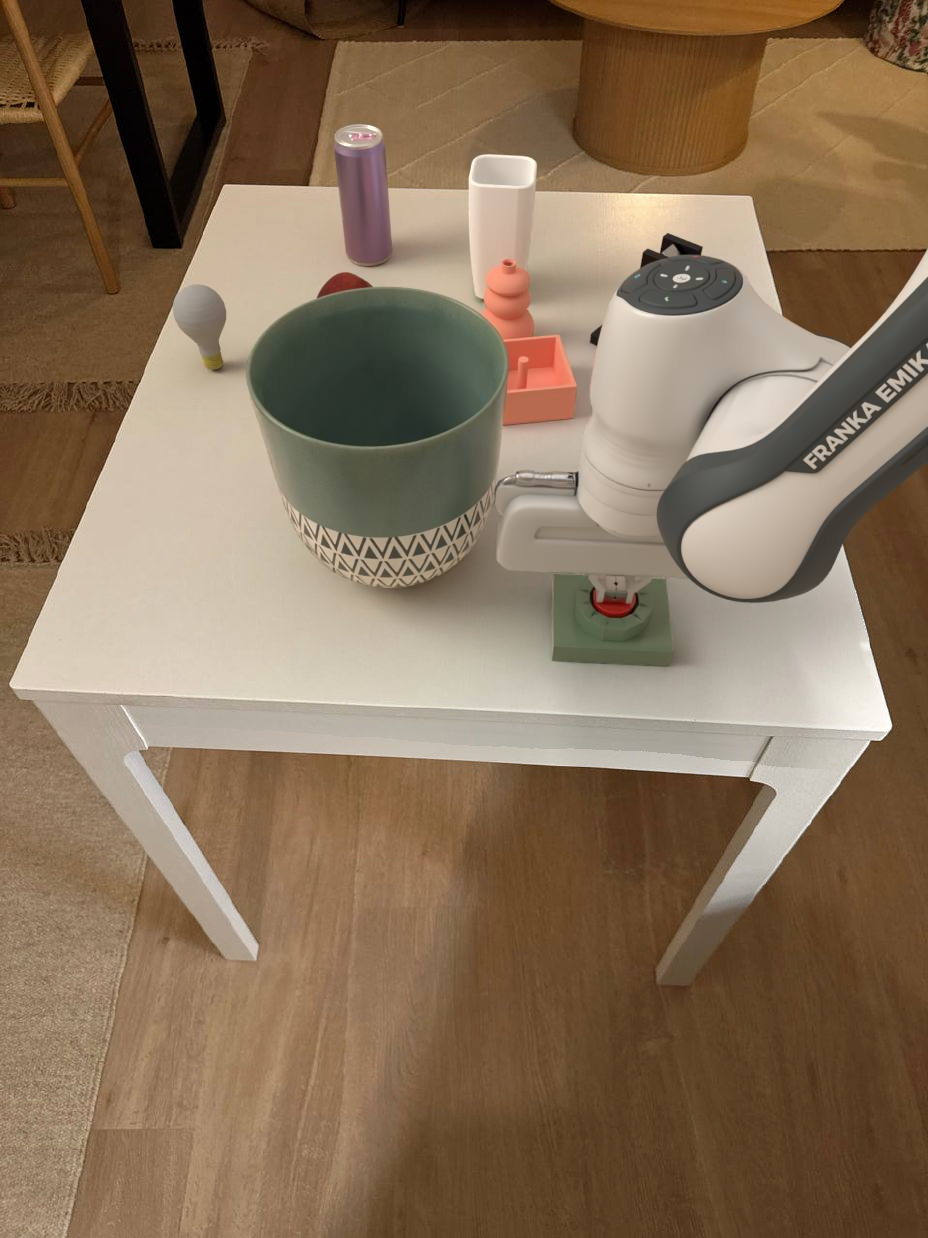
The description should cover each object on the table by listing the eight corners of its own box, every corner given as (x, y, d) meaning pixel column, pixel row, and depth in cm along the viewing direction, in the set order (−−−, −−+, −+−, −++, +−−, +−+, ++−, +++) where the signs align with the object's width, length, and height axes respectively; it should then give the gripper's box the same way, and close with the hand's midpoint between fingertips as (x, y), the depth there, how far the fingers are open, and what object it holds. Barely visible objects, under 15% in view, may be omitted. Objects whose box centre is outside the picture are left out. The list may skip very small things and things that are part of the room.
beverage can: (390, 268, 114) (382, 147, 102) (344, 267, 114) (330, 146, 102) (394, 243, 117) (386, 123, 106) (348, 242, 118) (335, 122, 106)
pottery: (573, 418, 96) (582, 339, 88) (486, 426, 95) (488, 348, 88) (540, 320, 107) (546, 242, 99) (462, 327, 106) (461, 249, 98)
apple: (394, 347, 104) (389, 285, 97) (331, 365, 102) (322, 303, 95) (370, 313, 108) (364, 251, 102) (309, 330, 106) (299, 268, 100)
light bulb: (186, 359, 102) (163, 279, 95) (233, 348, 104) (214, 269, 96) (195, 387, 99) (171, 308, 91) (243, 376, 101) (224, 297, 93)
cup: (530, 276, 113) (537, 155, 101) (526, 309, 108) (534, 188, 97) (472, 272, 113) (473, 152, 101) (466, 306, 109) (467, 184, 97)
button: (631, 593, 78) (634, 581, 77) (633, 626, 76) (637, 614, 75) (590, 591, 78) (592, 579, 77) (591, 624, 76) (593, 612, 75)
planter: (279, 635, 79) (228, 451, 62) (300, 478, 91) (262, 287, 74) (505, 631, 79) (516, 446, 62) (495, 475, 91) (502, 284, 74)
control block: (661, 594, 81) (669, 565, 78) (668, 666, 77) (677, 639, 73) (551, 589, 82) (555, 560, 79) (551, 661, 77) (555, 633, 74)
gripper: (493, 501, 63) (488, 620, 74) (786, 514, 62) (737, 632, 73) (496, 441, 67) (491, 563, 78) (772, 453, 66) (728, 574, 77)
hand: (613, 597), depth 76 cm, fingers closed, pressing on button
